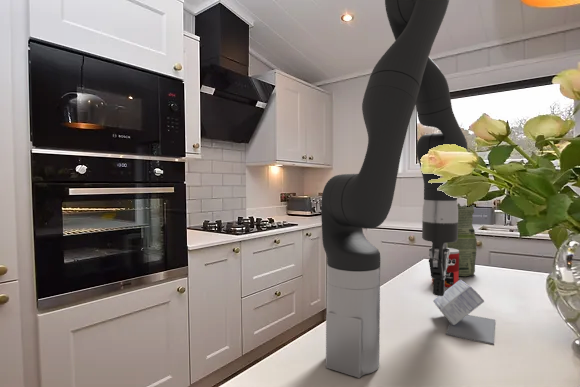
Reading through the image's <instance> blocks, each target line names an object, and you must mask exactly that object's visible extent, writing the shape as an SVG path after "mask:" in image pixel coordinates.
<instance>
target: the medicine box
mask: <svg viewBox="0 0 580 387" xmlns="http://www.w3.org/2000/svg"><path fill="white" fill-rule="evenodd" d="M432 301H433V303H434V305H435V306H436V307H437V309H439V311H440V312H441V313H442V315H443V316H444V317H445V318H446V319H447V321H448V322H449V324H450V323H451V324H452V325H455V324H457V323H458V322H459V321H460V320H462V319H463V318H464V317H465V316H467V315H470V314H471V313H472V312H473V311H475V310H476V309H477V308H478V307H479V306H481V305H482V304H483V303H485V300H484V299H483V297H481V295H480V294H479V293H478V292H477V291H476V290H475V289H474V287H472V286H471V285H469V284H467V283H466V282H465V281H463V279H459V281H457V282H456V283H455V284H454V285H452V286H451V287H448V288H447V289H446V290H444V295H443V296H437V297H436V298H434V299H433V300H432Z"/></svg>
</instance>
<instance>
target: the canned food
mask: <svg viewBox="0 0 580 387" xmlns="http://www.w3.org/2000/svg"><path fill="white" fill-rule="evenodd" d="M448 249H450V255H449V256H448V267H447V273H446V277H445V288H450V287H451V286H452V285H454V284H455V283H456V282H457V281H459V280H460V276H459V250H457V249H453V248H448ZM431 281H432V283H433V278H431Z"/></svg>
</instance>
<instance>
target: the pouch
mask: <svg viewBox="0 0 580 387" xmlns="http://www.w3.org/2000/svg"><path fill="white" fill-rule="evenodd" d="M457 206H458V240H457V241H456V242H452V243H447V248H453V249H457V250H459V277H468V276H472V275H474V274H475V272H476V259H477V258H476V257H477V247H478V246H477V237H476V233H475V229H474V226H473V221H474V219H473V216H474V214H475V210H474V208H475V204H474V205H472V206H470V207H467V206H468V205H465V204H464V205H461V204H460V203H459V202H457Z"/></svg>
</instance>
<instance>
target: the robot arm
mask: <svg viewBox="0 0 580 387" xmlns="http://www.w3.org/2000/svg"><path fill="white" fill-rule="evenodd" d="M449 3H450V0H384V5H385V6H384V7H385V12H386V17H387V20H388V24H389V26H390V30H391V32H392V34H393V37H394V40H395V41H394V42H393V43H392V44H391V45H390V46H389V48H387V50H386V51H385V53H383V55H382V56H381V57H380V59H379V60H378V61H377V63H376V64H375V66H374V67H373V69H372V71H371V73H370V77H369V78H368V81H367V85H366V88H365V91H364V93H363V94H364V95H363V97H362V98H363V99H362V103H361V110H362V111H361V112H362V116H363V117H362V118H363V122H364V125H365V127H366V132H367V138H368V139H367V142H368V143H367V147H366V152H365V156H364V159H363V162H362V165H361V167H360V169H359V172H358V173H345V174H344V173H341V174H337V175H334V176H332V177H331V178H330V179H329V180H327V182H326V183H325V185H324V188H323V190H322V194H321V200H320V202H321V203H320V205H321V206H320V213H321V217H320V218H321V240H322V245H323V249H324V252H325V255H326V316H325V318H326V319H325V368H326V369H328V370H329V369H330V370H332V371H336V372H339V373H342V374H346V375H348V376H351V377H355V378H358V379H360V378H361V377H362V376H364V375H369V374H371V373H374V372H376V371H377V370H378V369H379V367H380V346H381V345H380V344H381V342H380V339H381V338H380V329H381V327H380V324H381V323H380V319H381V317H380V314H381V308H380V307H381V306H380V304H381V253H380V251H379V249H378V248H377V247H376V246H375V245H373V244H372V243H371V242H370V241H369V240H368V239H367V238H366V236H365V234H364V231H363V229H369V230H370V229H372V230H373V229H375V228H377V227H379V226H381V225H382V224H383V223H384V222H385V220H386V219H387V217H388V215H389V213H390V211H391V208H392V205H393V201H394V196H395V190H396V186H397V185H396V184H397V179H398V174H399V168H400V161H401V158H402V153H403V148H404V145H405V141H406V137H407V133H408V129H409V124H410V122H411V118H412V115H413V112H414V109H415V108H416V114H417V117H418V122H419V123H420V125H422V126H424V127H429V128H430V127H431V128H436V129H438V130H439V131H440V132H434V133H426V134H423V135H422V136H420V138H419V139H418V140H417V142H416V143H417V144H416V147H415V149H416V150H415V153H416V156H417V160H418V164H419V167H420V168H421V163H420V159H421V157H422V156H423V155H425V154H427V153H428V151H429V149H431V148H433V147H436V146H438V145H443V144H456V145H458V146H461V147H464V148H466V149H467V150H468V142H467V139H466V137H465V134H464V132H463V130H462V128H461V126H460V125H459V123H458V121H457V118H456V115H455V114H454V111H453V105H452V100H451V94H450V88H449V84H448V80H447V78H446V76H445V74H444V72H442V70H441V69H440V66H438V65H437V64H436V63H435V62H434V60H433V59H432V58H431V57H430V54H431V50H432V48H433V45H434V42H435V40H436V38H437V35H438V33H439V31H440V28H441V25H442V23H443V21H444V18H445V16H446V14H447V10H448V8H449V5H450V4H449ZM421 175H422V180H423V205H422V217H421V219H422V220H421V222H422V223H421V224H422V226H421V228H422V230H421V232H422V234H421V235H422V237H421V238H422V239H423V240H424V241H426V242H431V244H432V245H431V247H430V248H429V250H428V256H429V259H428V264H429V270H430V277H431V279H432V278H433V282H432V284H433V285H432V286H433V287H432V288H433V289H432V294H433V295H434V296H437V297H438V296H443V295H444V292H445V289H446V287H445V277H446V273H447V267H448V256H449V255H450V249H448V248H447V243H452V242H456V241H457V240H458V206H457V204H458V197H457V198H453V197H450V196H448V195H446V194H445V193H444V192H442V191H437V188H438V187H439V186H440V185H442V184H443V183H432V184H431V183H428V181H429V180H431V179H438V178H440V176H437V175H434V174H423V173H422V172H421Z"/></svg>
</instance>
